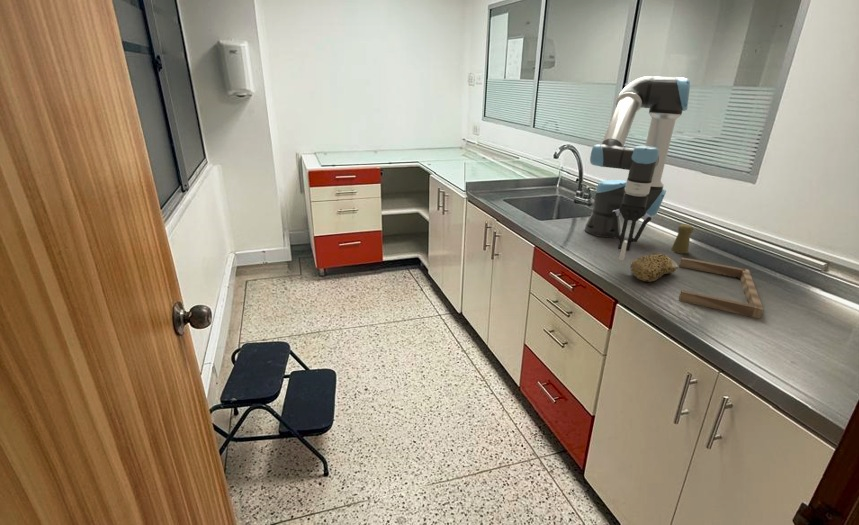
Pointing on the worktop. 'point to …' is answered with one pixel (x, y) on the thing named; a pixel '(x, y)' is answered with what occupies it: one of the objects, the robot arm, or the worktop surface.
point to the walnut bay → (749, 309)
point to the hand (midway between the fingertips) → (621, 258)
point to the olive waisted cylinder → (682, 239)
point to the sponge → (653, 267)
